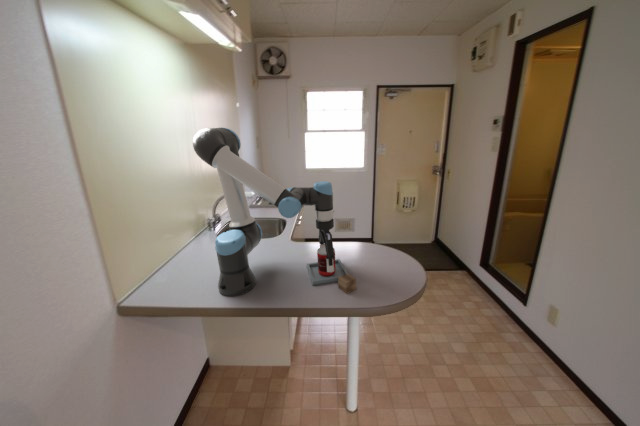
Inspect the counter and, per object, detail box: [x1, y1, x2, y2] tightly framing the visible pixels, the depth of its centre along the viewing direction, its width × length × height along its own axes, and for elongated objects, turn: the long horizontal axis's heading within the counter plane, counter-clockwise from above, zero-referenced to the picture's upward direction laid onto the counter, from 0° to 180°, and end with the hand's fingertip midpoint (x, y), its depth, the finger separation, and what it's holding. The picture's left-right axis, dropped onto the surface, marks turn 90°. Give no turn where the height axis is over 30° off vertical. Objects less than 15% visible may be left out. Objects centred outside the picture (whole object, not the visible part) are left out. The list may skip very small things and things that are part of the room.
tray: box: [305, 258, 349, 287], centre depth 123 cm, size 16×16×2 cm
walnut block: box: [337, 273, 357, 295], centre depth 110 cm, size 5×5×5 cm
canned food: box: [316, 246, 336, 276], centre depth 122 cm, size 8×8×11 cm
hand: (326, 264), depth 122 cm, fingers open, 13 cm apart
